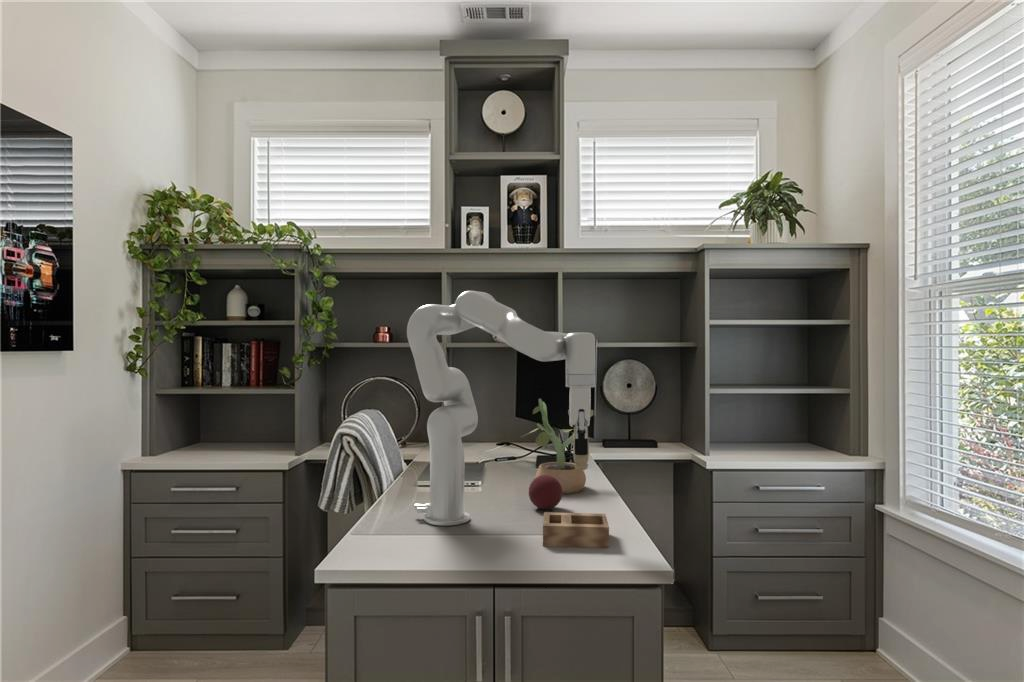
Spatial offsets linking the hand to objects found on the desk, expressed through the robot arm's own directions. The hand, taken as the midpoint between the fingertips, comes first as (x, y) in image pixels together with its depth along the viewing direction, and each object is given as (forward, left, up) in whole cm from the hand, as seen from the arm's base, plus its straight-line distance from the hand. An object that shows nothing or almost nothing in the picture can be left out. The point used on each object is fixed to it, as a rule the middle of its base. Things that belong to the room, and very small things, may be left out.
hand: (580, 452), depth 165 cm
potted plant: (-7, +54, -22) cm, 58 cm away
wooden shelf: (-1, -1, -22) cm, 22 cm away
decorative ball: (-9, +27, -22) cm, 36 cm away
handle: (0, 0, -4) cm, 4 cm away
